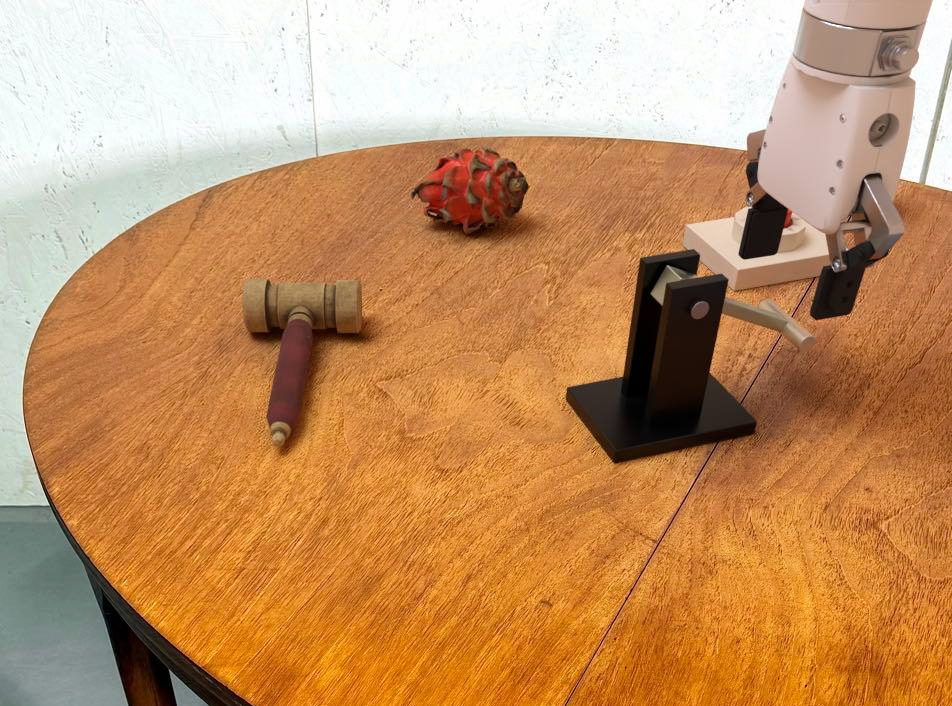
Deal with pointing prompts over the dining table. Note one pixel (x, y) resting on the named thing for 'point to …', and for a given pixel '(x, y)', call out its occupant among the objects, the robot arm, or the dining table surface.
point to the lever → (747, 312)
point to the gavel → (297, 335)
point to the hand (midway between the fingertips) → (791, 284)
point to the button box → (793, 261)
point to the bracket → (665, 371)
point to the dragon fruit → (473, 189)
